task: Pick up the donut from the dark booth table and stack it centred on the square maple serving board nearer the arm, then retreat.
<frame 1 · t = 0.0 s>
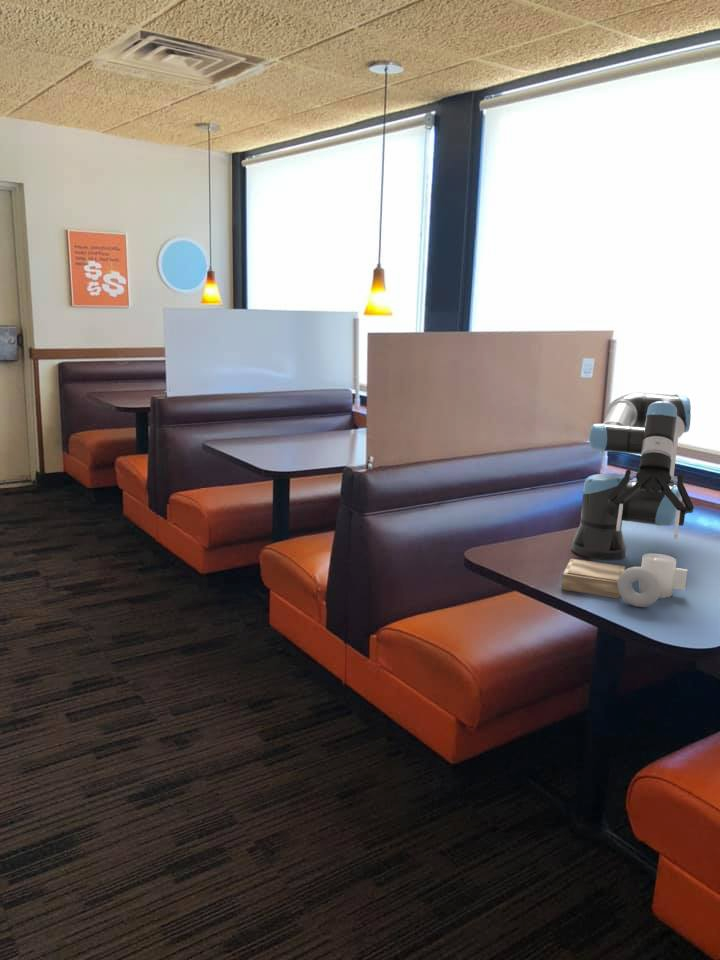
hand: (646, 533, 191), 15 cm above the table, tool tilted 35°, fingers open, 13 cm apart
donut: (636, 607, 184), on the table
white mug: (655, 592, 193), on the table
maple board: (593, 584, 197), on the table
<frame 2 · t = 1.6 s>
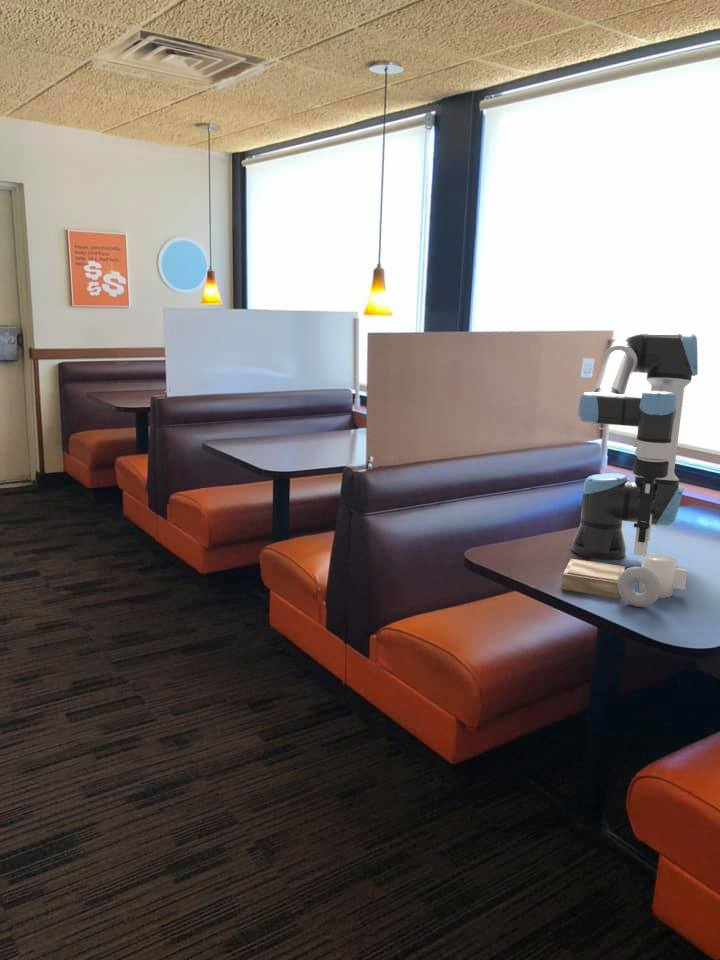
hand: (641, 547, 180), 15 cm above the table, tool pointing down, fingers open, 13 cm apart
nothing on the table moved.
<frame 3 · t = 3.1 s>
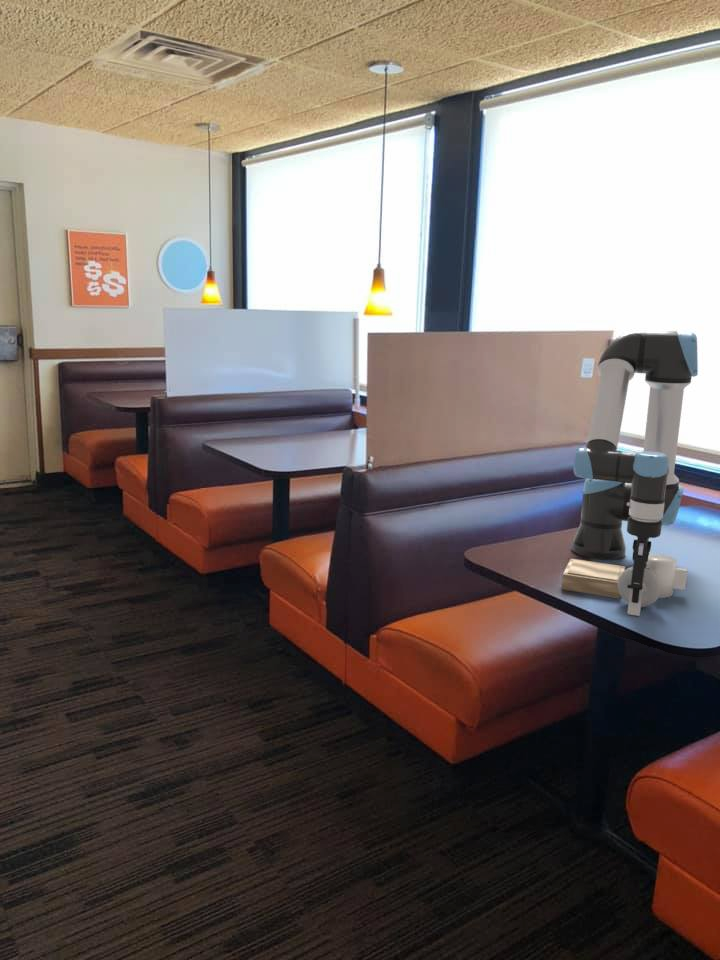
hand: (635, 605, 183), 0 cm above the table, tool pointing down, fingers open, 11 cm apart
nothing on the table moved.
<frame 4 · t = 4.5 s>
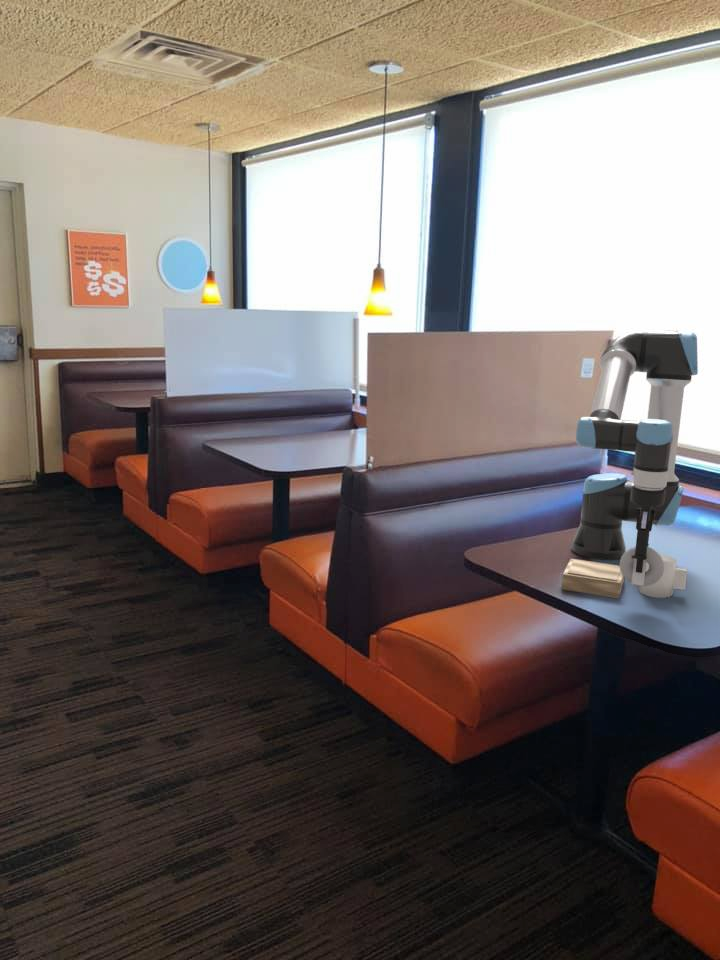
hand: (638, 581, 183), 6 cm above the table, tool pointing down, fingers closed on donut, 3 cm apart
donut: (639, 586, 183), point 5 cm above the table, touching gripper
everything else where it was.
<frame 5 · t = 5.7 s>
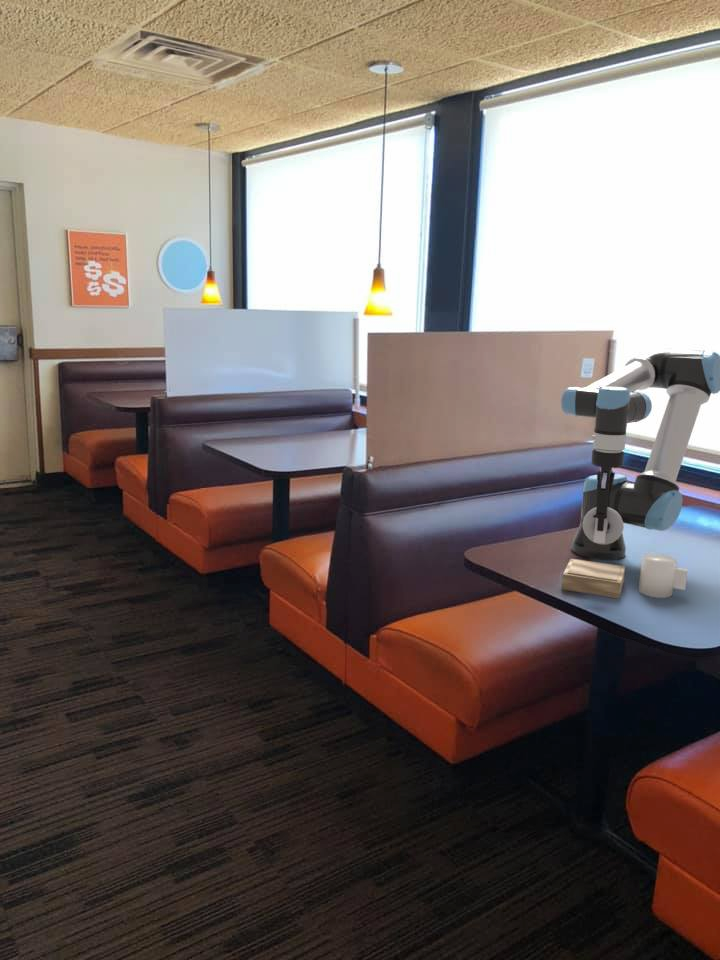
hand: (599, 539, 195), 12 cm above the table, tool pointing down, fingers closed on donut, 3 cm apart
donut: (600, 545, 195), point 11 cm above the table, touching gripper
everything else where it was.
when the fingers open (5 cm above the table, at t = 7.4 s): donut stays where it is, resting on maple board.
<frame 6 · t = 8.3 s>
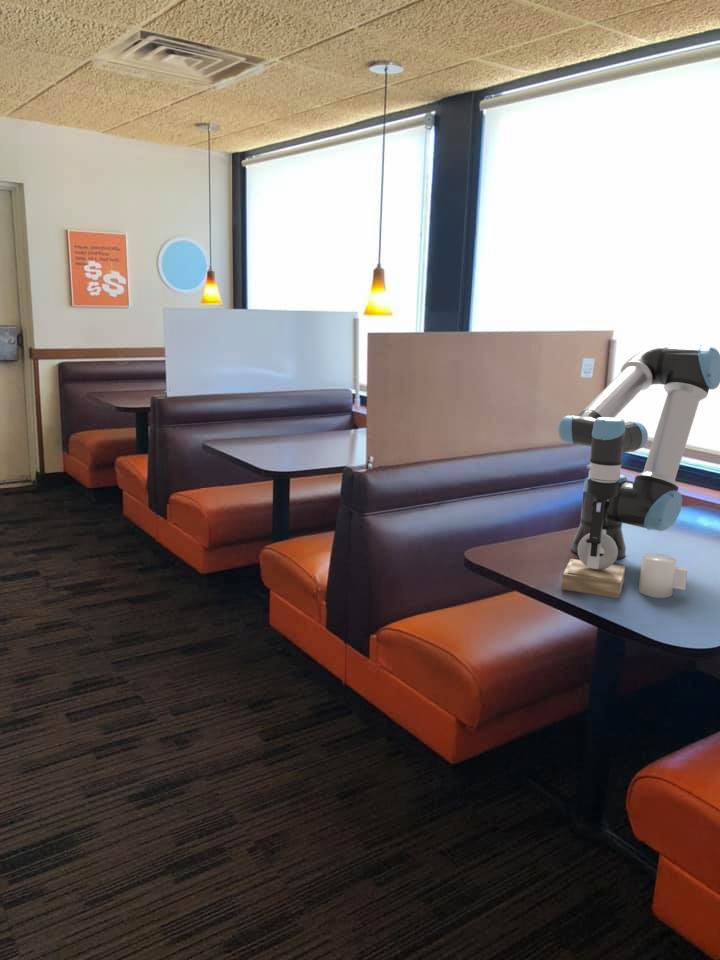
hand: (595, 560, 196), 7 cm above the table, tool pointing down, fingers open, 13 cm apart
donut: (595, 570, 196), point 4 cm above the table, touching maple board
everything else where it was.
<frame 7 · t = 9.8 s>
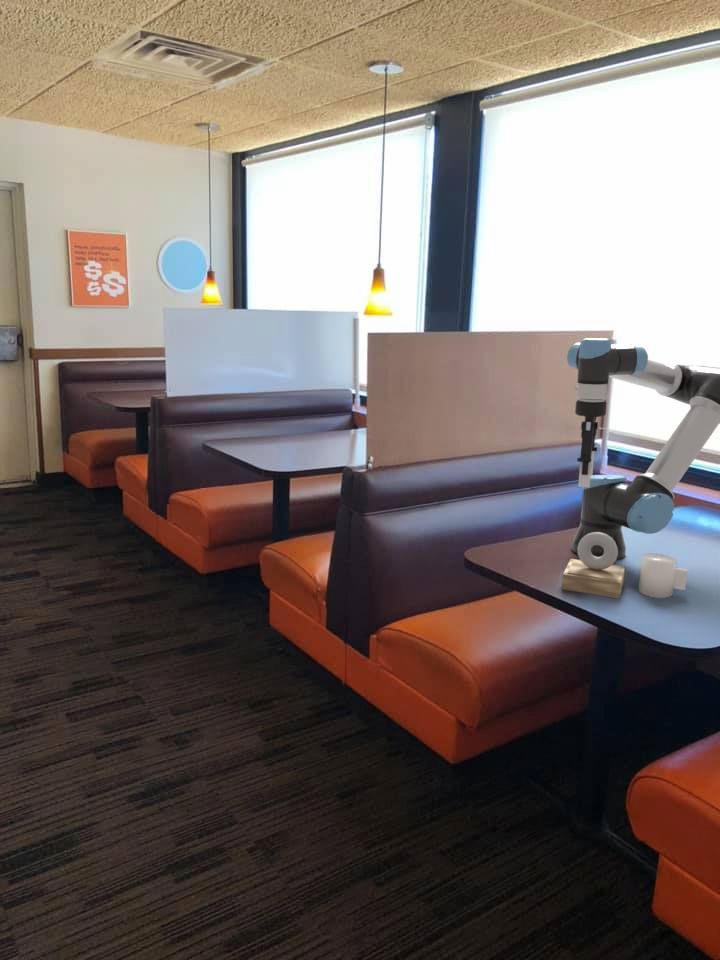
hand: (585, 481, 199), 26 cm above the table, tool pointing down, fingers open, 13 cm apart
nothing on the table moved.
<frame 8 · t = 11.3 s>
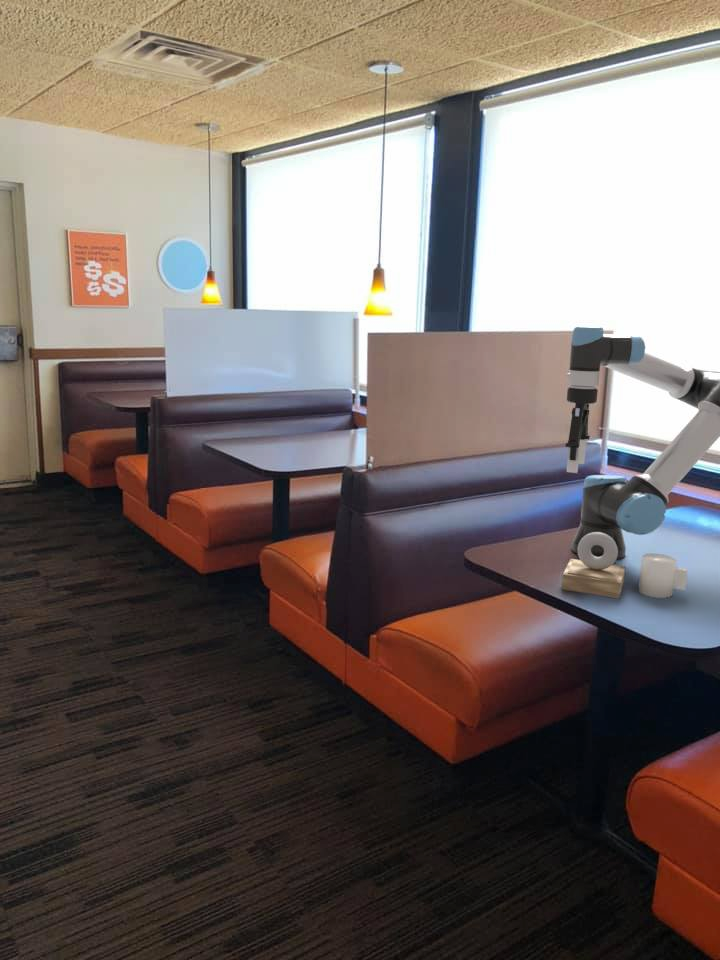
hand: (575, 467, 201), 29 cm above the table, tool pointing down, fingers open, 13 cm apart
nothing on the table moved.
at the end: donut inside the target area on the maple board (0.3 cm from its centre), point 4.1 cm above the maple board's base; the gripper is holding nothing; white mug moved 0.1 cm from its start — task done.
